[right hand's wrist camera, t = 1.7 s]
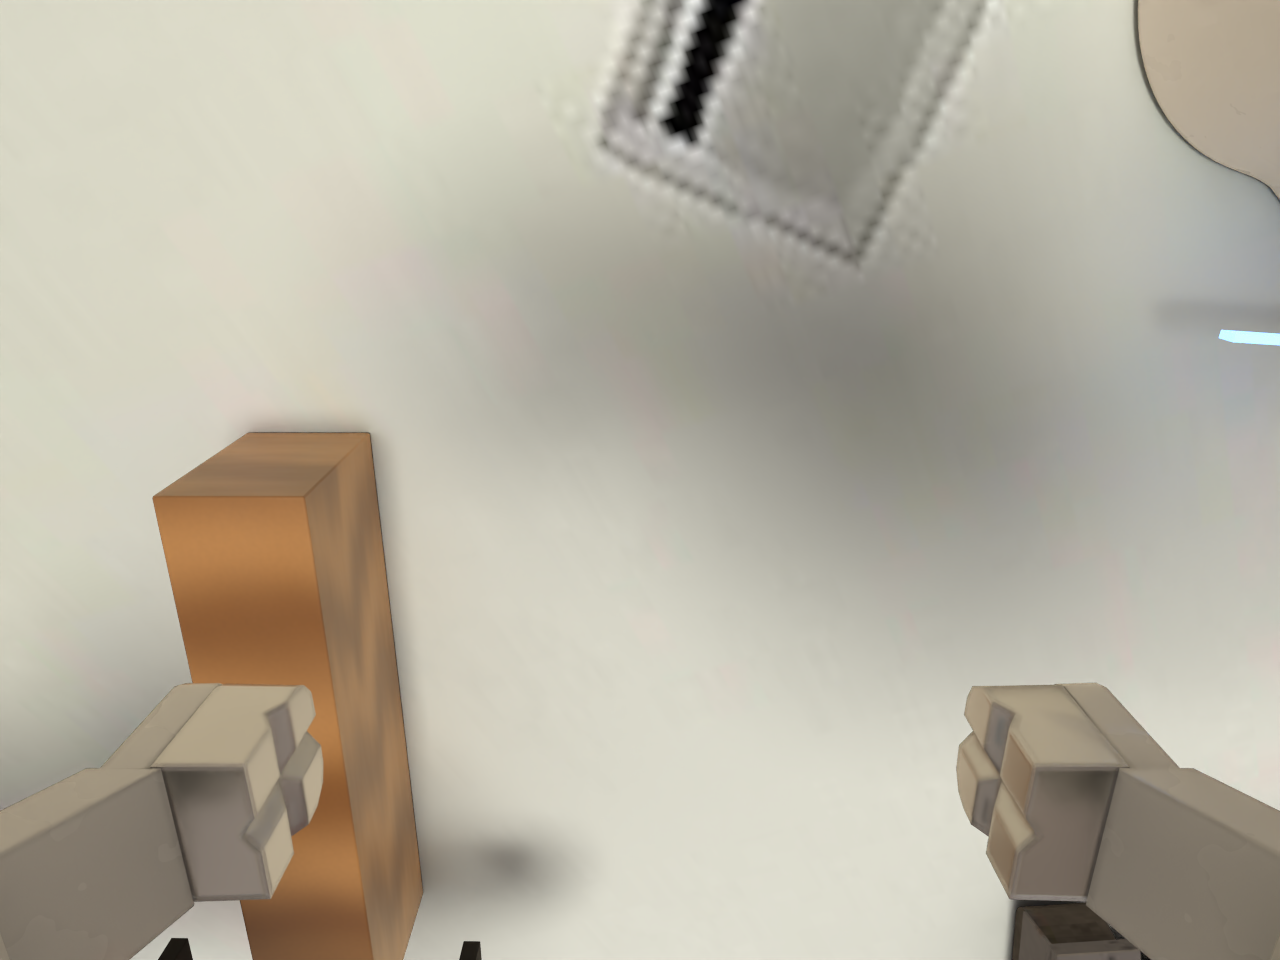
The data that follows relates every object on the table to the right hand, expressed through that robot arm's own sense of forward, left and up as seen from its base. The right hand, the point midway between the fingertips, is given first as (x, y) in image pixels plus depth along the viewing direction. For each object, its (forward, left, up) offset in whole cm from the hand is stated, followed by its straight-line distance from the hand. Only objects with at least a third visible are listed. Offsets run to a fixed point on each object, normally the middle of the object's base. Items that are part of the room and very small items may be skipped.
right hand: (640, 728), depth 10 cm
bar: (+19, +14, -27) cm, 36 cm away
